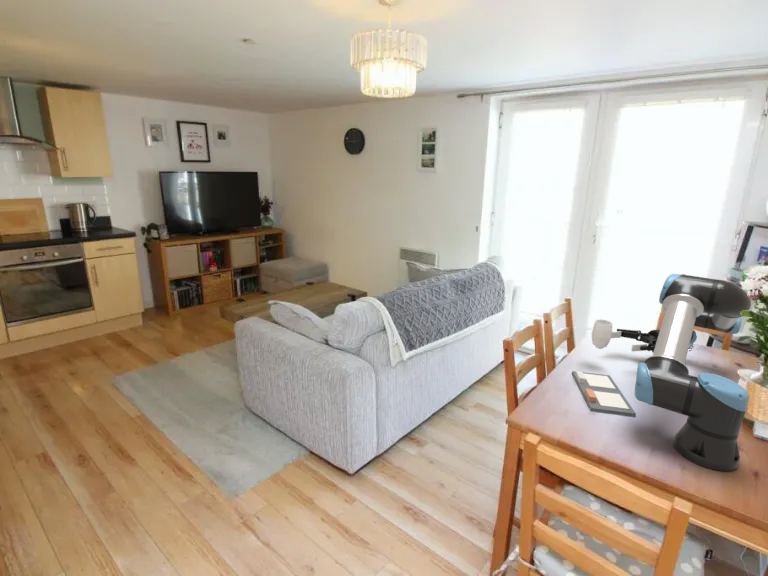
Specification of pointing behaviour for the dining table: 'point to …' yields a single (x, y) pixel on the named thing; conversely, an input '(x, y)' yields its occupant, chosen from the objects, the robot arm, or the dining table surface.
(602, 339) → the cup
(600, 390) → the coaster board
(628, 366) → the dining table surface
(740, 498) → the dining table surface
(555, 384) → the dining table surface
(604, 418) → the dining table surface
